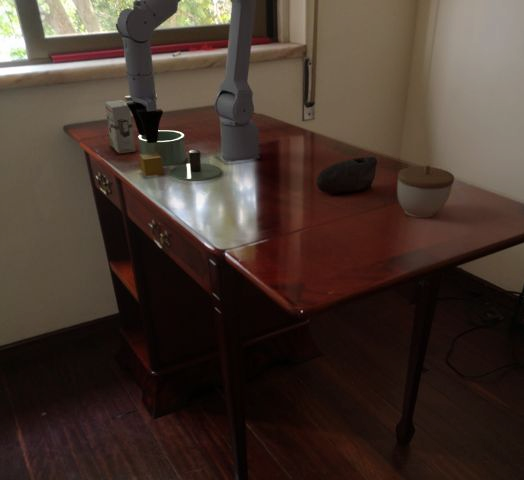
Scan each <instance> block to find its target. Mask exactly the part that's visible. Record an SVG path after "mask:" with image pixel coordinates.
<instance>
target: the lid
mask: <svg viewBox="0 0 524 480" xmlns="http://www.w3.org/2000/svg"><path fill="white" fill-rule="evenodd" d="M188 158H189V163H184V164H180V165H177V166H175V167H173V168H171V169H170V171H169V173H170V175H171V177H172V178H175V179H177V180H181V181H188V182H199V181H208V180H211V179H215V178H217V177H219V176H220V175H221V173H222V169H221V167H219V166H218V165H215V164H212V163H205V162H203V163H202V162H201V161H202V160H201V151H200V150H198V149H191V150H189V151H188Z"/></svg>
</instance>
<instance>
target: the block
mask: <svg viewBox="0 0 524 480" xmlns="http://www.w3.org/2000/svg"><path fill="white" fill-rule="evenodd" d="M138 158H139V167H140V171H141V173H142V174H143V176H144V177H148V176H154V175H155V176H157V175H163V174H164V166H163V165H162V157H161V156H160V155H159V154H158V153H149V154H140V153H139V154H138Z"/></svg>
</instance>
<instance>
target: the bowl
mask: <svg viewBox="0 0 524 480" xmlns="http://www.w3.org/2000/svg"><path fill="white" fill-rule="evenodd" d="M137 140H138V148H139V155H140V154H149V153H158V154H159V155H160V156H161V157H162V165H163V167H170V166H176V165H179V164H180V165H181V164H182V163H184V162H186V161H187V151H186V150H187V149H186V139H185V134H184V133H183V132H180V131H177V130H170V129H168V130H167V129H166V130H165V129H164V130H162V129H161V130H159V129H158V139H157V142H155V143H148V142H147V140H146V136H145V135H139V134H138V136H137Z"/></svg>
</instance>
